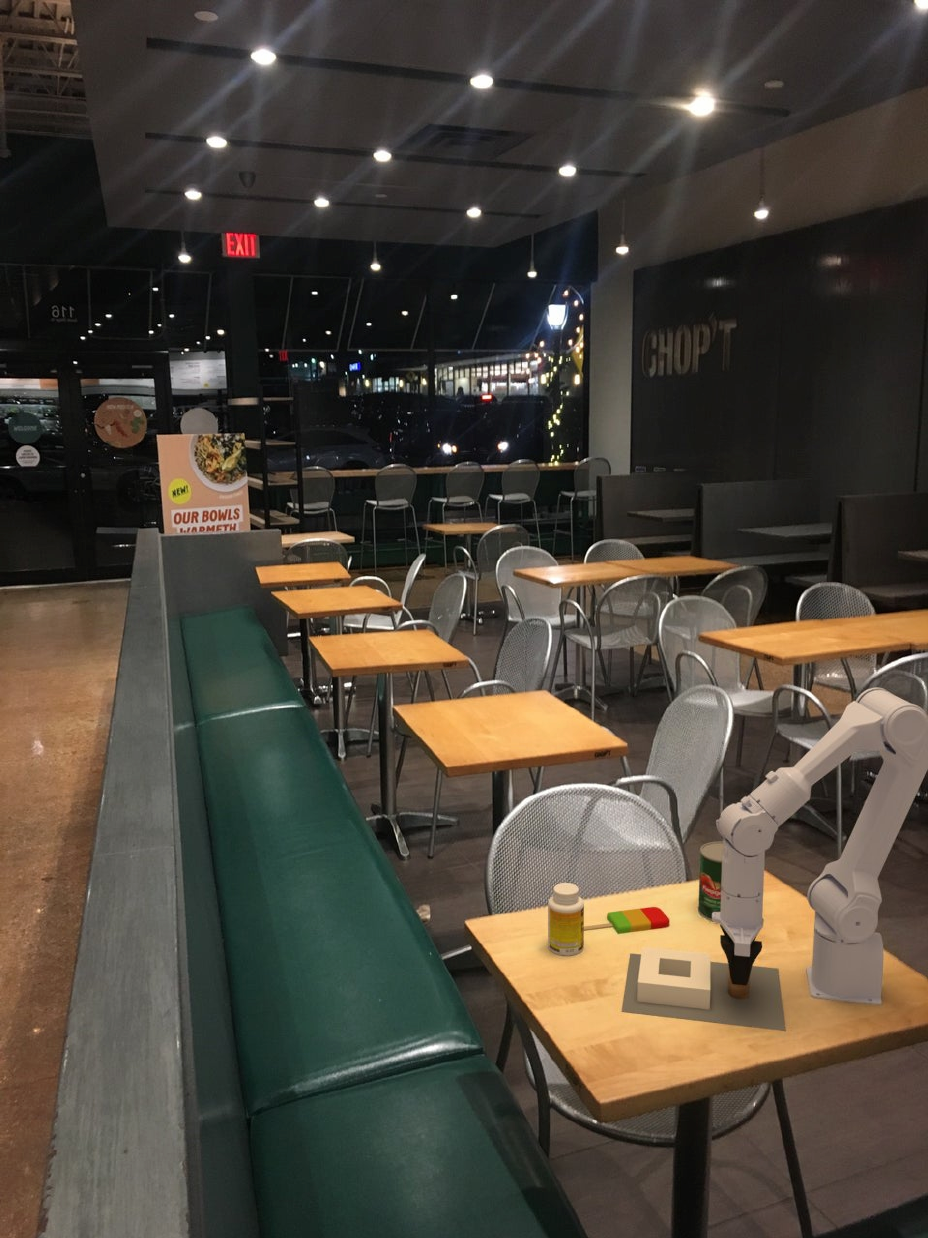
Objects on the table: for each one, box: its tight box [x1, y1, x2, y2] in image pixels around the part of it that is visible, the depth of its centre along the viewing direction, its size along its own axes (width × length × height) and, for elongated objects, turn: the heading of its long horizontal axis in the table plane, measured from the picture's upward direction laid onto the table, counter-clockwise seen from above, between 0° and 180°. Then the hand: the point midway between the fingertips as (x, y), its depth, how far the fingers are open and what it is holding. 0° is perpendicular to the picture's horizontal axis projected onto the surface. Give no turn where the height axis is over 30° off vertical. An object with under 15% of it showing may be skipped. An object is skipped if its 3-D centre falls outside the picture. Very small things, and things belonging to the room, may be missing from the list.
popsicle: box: [584, 906, 670, 935], centre depth 166 cm, size 6×15×2 cm, turn 102°
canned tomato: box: [697, 841, 723, 922], centre depth 168 cm, size 8×8×11 cm
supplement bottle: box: [547, 882, 585, 957], centre depth 158 cm, size 6×6×10 cm
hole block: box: [637, 946, 711, 1010], centre depth 147 cm, size 10×10×3 cm
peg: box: [728, 966, 750, 999], centre depth 144 cm, size 3×3×9 cm
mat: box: [621, 953, 787, 1032], centre depth 146 cm, size 22×16×1 cm
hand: (738, 977), depth 145 cm, fingers closed on peg, 3 cm apart
